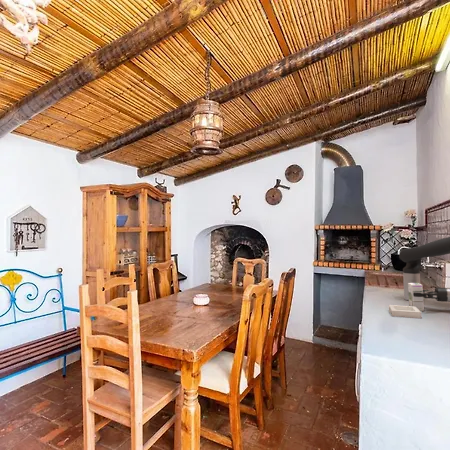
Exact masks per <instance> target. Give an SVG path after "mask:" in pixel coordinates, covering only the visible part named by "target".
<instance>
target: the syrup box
mask: <svg viewBox="0 0 450 450" xmlns="http://www.w3.org/2000/svg"><path fill="white" fill-rule="evenodd" d="M423 290H424V289H423V284H421V283H420V284H419V283H408V293H409V300H408V306H413V307H417V308H418V309H419V311H420V312H423V311H424V312H425V301H424V300H425V299H424V298H423V297H414V296H413V293H414V292H415V293H421V294H422V293H423Z"/></svg>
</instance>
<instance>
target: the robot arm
mask: <svg viewBox="0 0 450 450" xmlns="http://www.w3.org/2000/svg"><path fill="white" fill-rule="evenodd" d="M447 255H450V236H448V237H445V238H439V239H436V240H433V241H429V242H426V243H424V244H421V245H418V246H415V247H409V248H403V249H402V250H400V252H399V253H398V256H399V257H398V258H399V259H400V260H401V261H402V262H404V263H406V265H405V266H404V267H403V268H402V277H403V299H404V300H406V301H409V293H408V283H419V284H421V270H422V259H423V258H424V259H425V258H432V257H440V256H441V257H442V256H447ZM413 296H414V297H423V299H434V300H436V301H437V302H440V303H441V302H442V303H443V302H446V303H447V302H448V303H450V287H439V286H438V287H435V288H434V290H431V289H423V293H422V294H421V293H415V292H414V293H413Z"/></svg>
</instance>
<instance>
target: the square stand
mask: <svg viewBox="0 0 450 450" xmlns="http://www.w3.org/2000/svg"><path fill="white" fill-rule="evenodd" d="M388 311H389V313H390V315H391V317H395V316H396V317H397V318H398V317H399V318H409V317H410V319H411V318H412V319H422V317H423V316H422V311H419V309H418V308H417V307H413V306H409V305H408V306H407V305H396V304H395V305H394V304H388Z"/></svg>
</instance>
